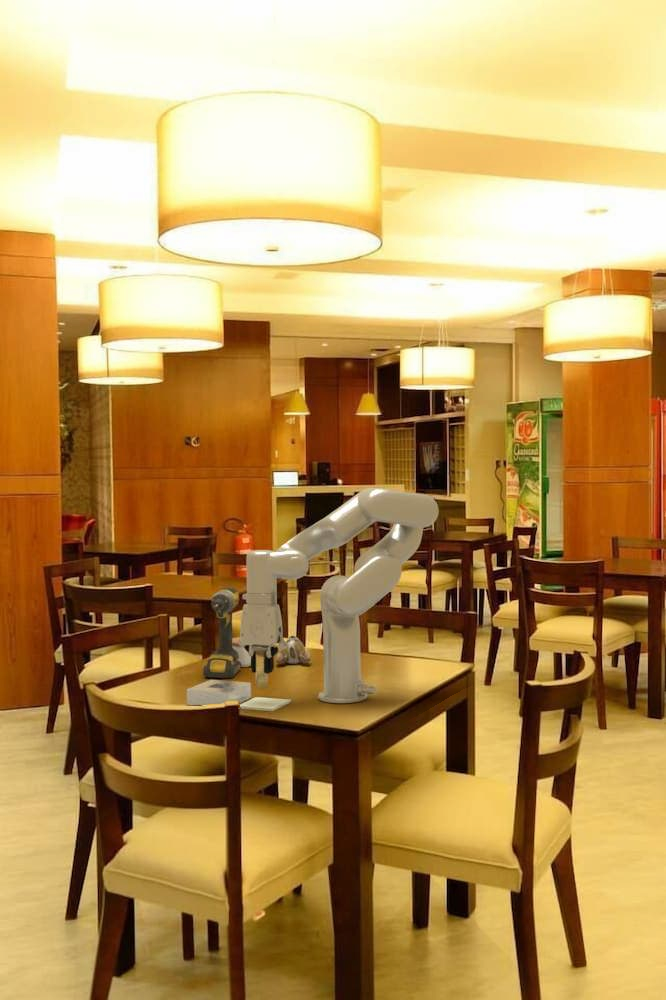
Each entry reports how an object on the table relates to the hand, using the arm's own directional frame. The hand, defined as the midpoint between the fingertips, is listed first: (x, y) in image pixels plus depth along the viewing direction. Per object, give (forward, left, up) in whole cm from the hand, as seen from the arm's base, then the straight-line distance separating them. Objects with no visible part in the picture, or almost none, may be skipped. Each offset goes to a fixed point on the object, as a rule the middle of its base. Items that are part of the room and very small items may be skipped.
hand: (262, 671), depth 246 cm
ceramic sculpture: (+16, -52, -9) cm, 55 cm away
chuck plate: (+13, 0, -9) cm, 15 cm away
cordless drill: (+28, -27, -9) cm, 40 cm away
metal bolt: (0, +1, -3) cm, 4 cm away
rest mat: (0, 0, -9) cm, 9 cm away
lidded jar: (+29, -44, -9) cm, 53 cm away
